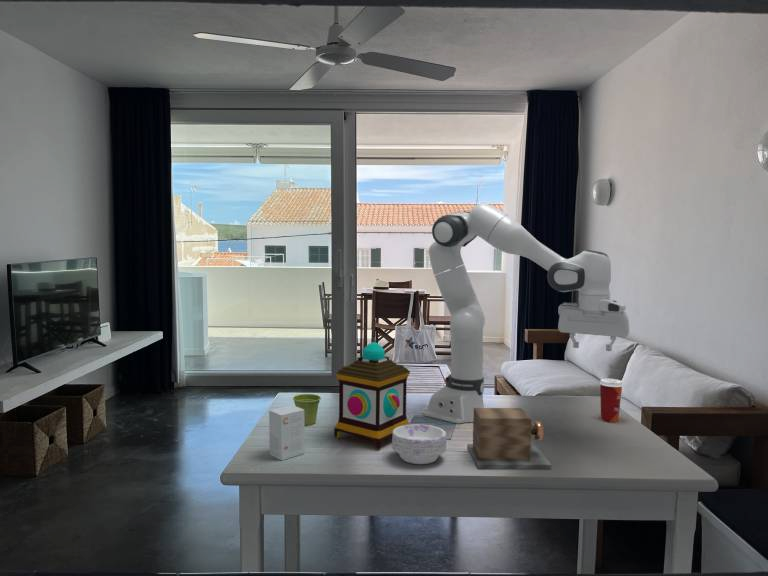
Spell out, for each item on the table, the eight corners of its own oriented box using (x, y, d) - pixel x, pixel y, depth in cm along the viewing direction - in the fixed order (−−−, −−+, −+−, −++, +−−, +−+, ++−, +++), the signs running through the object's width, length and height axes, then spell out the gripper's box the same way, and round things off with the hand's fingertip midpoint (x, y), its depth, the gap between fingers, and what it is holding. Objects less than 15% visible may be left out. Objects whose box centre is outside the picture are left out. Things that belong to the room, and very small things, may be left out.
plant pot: (317, 417, 194) (317, 392, 193) (323, 425, 185) (323, 400, 184) (290, 419, 191) (290, 394, 190) (295, 428, 182) (295, 402, 181)
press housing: (533, 447, 167) (535, 405, 166) (551, 469, 151) (553, 422, 150) (467, 447, 166) (468, 404, 165) (478, 469, 150) (479, 421, 149)
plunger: (537, 435, 162) (538, 418, 161) (544, 442, 155) (545, 425, 155) (478, 435, 161) (479, 418, 161) (483, 442, 155) (483, 425, 155)
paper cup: (623, 424, 191) (625, 383, 190) (599, 422, 192) (601, 382, 191) (618, 417, 198) (620, 378, 197) (596, 415, 200) (597, 377, 199)
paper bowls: (427, 445, 168) (428, 420, 167) (456, 463, 154) (457, 435, 154) (382, 453, 161) (382, 426, 160) (408, 473, 147) (408, 443, 147)
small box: (292, 447, 164) (292, 404, 164) (305, 453, 160) (305, 409, 159) (268, 454, 159) (268, 409, 158) (280, 461, 154) (280, 415, 153)
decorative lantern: (366, 422, 189) (367, 335, 186) (416, 434, 177) (418, 341, 175) (327, 439, 172) (328, 343, 170) (379, 453, 161) (380, 350, 159)
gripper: (556, 302, 171) (554, 347, 172) (629, 307, 161) (627, 354, 162) (560, 301, 176) (559, 344, 178) (631, 305, 167) (628, 350, 168)
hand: (592, 349), depth 170 cm, fingers open, 8 cm apart
